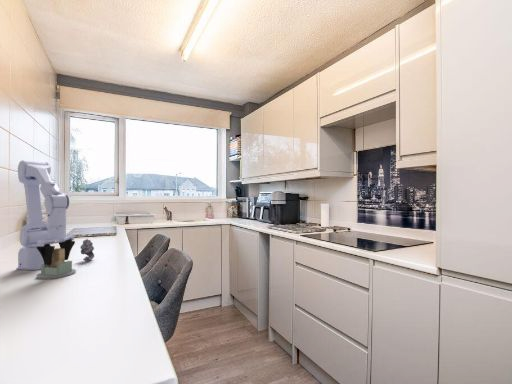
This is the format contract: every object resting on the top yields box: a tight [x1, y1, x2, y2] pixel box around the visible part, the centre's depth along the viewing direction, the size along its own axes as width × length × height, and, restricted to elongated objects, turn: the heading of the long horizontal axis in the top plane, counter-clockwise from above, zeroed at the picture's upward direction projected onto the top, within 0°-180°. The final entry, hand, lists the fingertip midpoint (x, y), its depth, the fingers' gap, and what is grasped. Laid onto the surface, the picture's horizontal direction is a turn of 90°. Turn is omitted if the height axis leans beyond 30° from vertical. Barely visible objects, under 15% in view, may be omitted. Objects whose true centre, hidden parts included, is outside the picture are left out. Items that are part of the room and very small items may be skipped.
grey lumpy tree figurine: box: [79, 238, 95, 262], centre depth 128 cm, size 5×5×10 cm
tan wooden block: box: [50, 247, 66, 268], centre depth 106 cm, size 4×2×9 cm, turn 82°
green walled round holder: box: [36, 260, 76, 280], centre depth 106 cm, size 12×12×5 cm
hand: (56, 262), depth 106 cm, fingers open, 7 cm apart
